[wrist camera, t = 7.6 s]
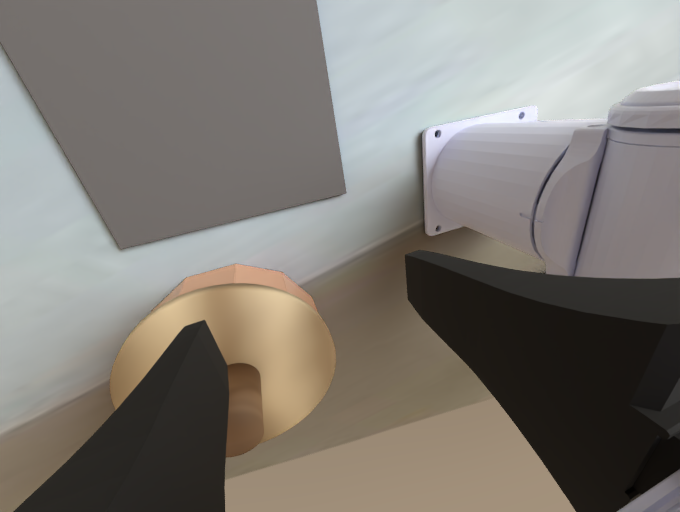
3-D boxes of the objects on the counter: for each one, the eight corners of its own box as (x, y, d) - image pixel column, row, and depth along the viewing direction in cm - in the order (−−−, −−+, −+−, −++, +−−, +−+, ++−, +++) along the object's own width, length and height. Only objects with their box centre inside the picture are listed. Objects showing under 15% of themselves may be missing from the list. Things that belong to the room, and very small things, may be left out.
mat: (297, -103, 13) (299, -109, 13) (344, 192, 19) (346, 193, 19) (-72, -93, 10) (-83, -100, 10) (123, 246, 17) (120, 249, 16)
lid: (311, 256, 16) (332, 295, 12) (345, 397, 22) (367, 455, 18) (63, 328, 14) (-8, 405, 10) (175, 467, 19) (158, 550, 16)
